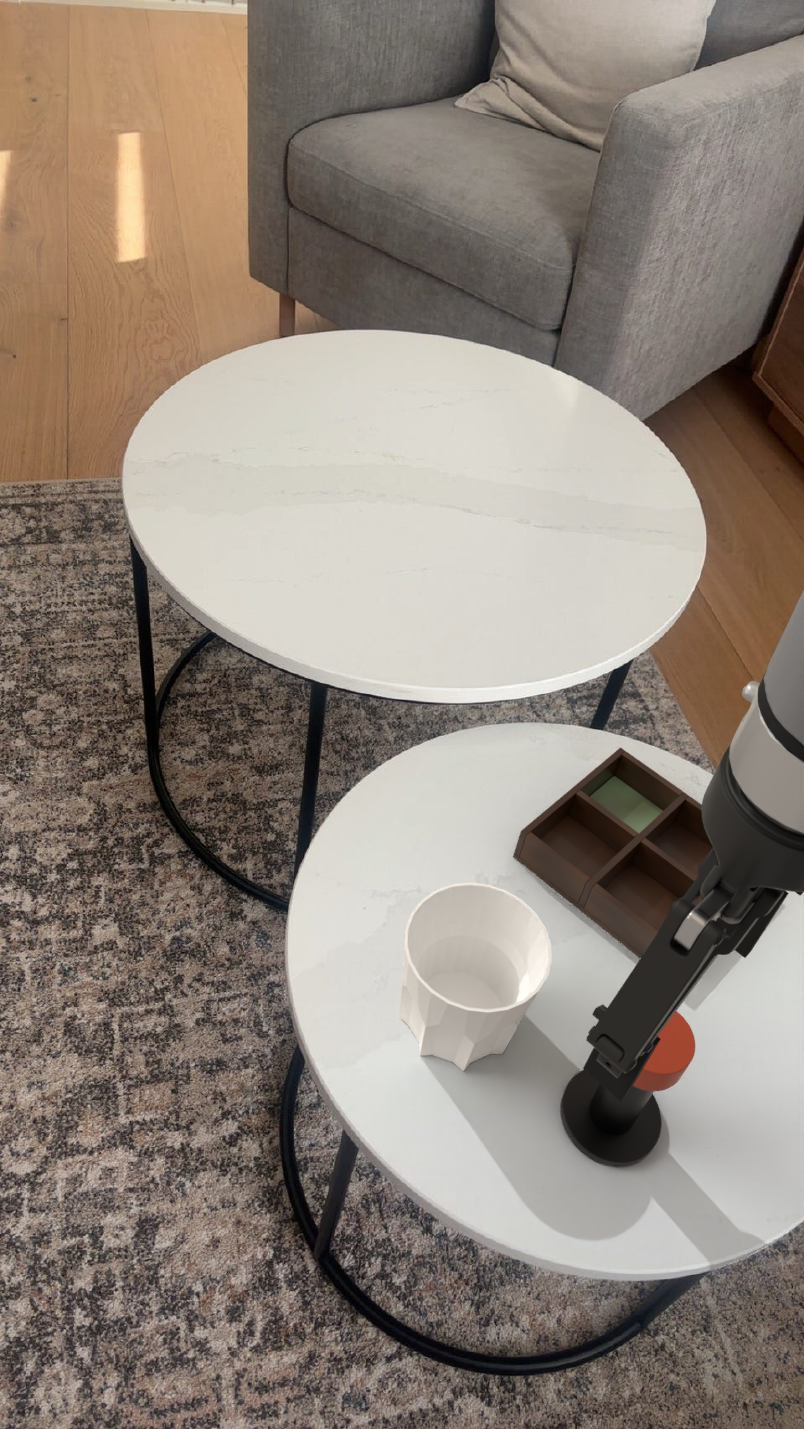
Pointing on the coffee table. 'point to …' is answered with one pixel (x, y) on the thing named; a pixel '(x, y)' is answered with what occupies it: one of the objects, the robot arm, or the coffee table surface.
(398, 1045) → the coffee table surface
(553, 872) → the grid
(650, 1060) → the token
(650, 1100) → the stand
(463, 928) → the cup
